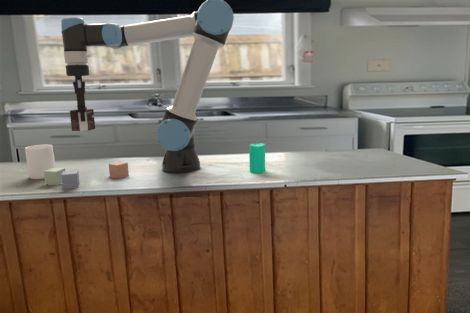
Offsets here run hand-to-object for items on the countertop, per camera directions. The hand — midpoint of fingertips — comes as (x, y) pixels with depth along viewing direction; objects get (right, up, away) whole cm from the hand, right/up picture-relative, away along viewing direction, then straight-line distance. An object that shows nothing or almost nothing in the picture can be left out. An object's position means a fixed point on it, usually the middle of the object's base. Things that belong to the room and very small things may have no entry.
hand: (83, 129), depth 147 cm
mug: (-19, -17, +11) cm, 28 cm away
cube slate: (-3, -20, -5) cm, 21 cm away
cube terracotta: (+11, -17, +8) cm, 22 cm away
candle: (+63, -16, +10) cm, 66 cm away
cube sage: (-10, -19, 0) cm, 22 cm away
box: (0, -1, 0) cm, 1 cm away
